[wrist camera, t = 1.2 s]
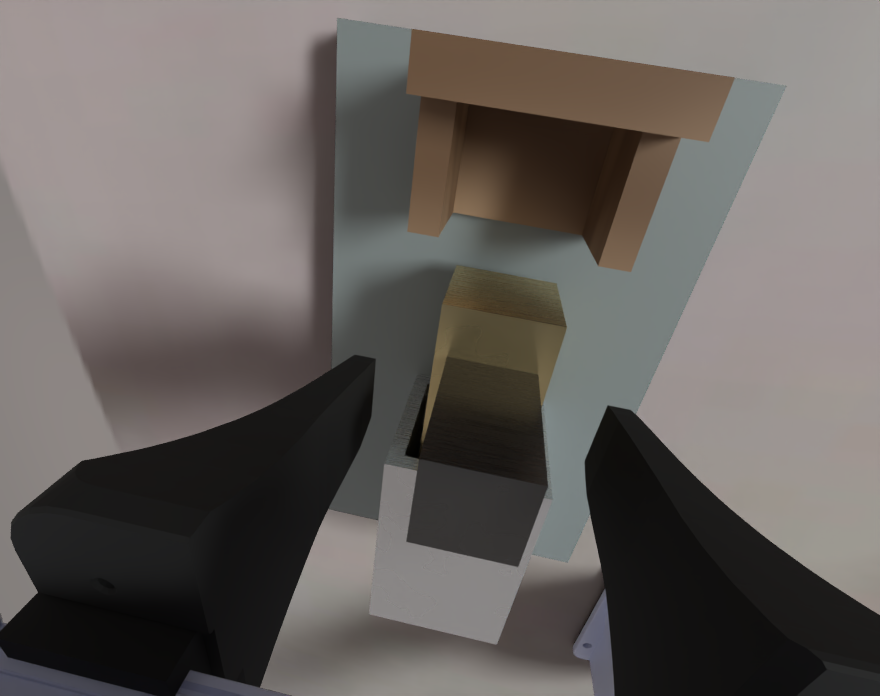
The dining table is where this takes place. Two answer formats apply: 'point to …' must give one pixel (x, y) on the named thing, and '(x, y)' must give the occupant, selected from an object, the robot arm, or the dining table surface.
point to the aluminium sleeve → (437, 551)
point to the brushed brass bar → (487, 416)
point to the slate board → (508, 271)
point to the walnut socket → (550, 138)
